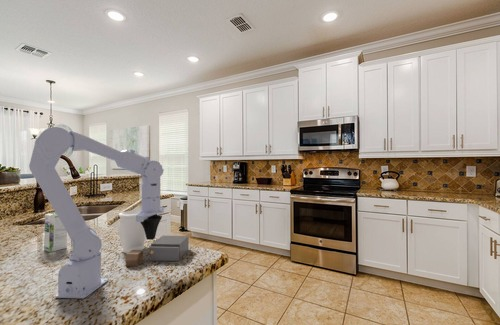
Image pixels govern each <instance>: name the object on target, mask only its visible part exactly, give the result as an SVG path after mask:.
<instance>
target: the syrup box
mask: <svg viewBox="0 0 500 325" xmlns="http://www.w3.org/2000/svg"><path fill="white" fill-rule="evenodd" d="M43 232H44V234H43V235H44V237H43V245H44V246H43V250H44V251H47V252H50V253H53V252H57V251H61V250H64V249H67V247H68V246H67V245H68V233H67V231H66V229H65V227H64V225H63V224H62V222H61V220H60V219H59V217H58V215H57V214H56V212H55V211H54V212H49V213H45V214H44V231H43Z"/></svg>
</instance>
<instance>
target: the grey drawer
mask: <svg viewBox="0 0 500 325" xmlns="http://www.w3.org/2000/svg"><path fill="white" fill-rule="evenodd" d="M148 261H162V262H178V261H180V260H179V247H156V246H151V245H150V246H148Z"/></svg>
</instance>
